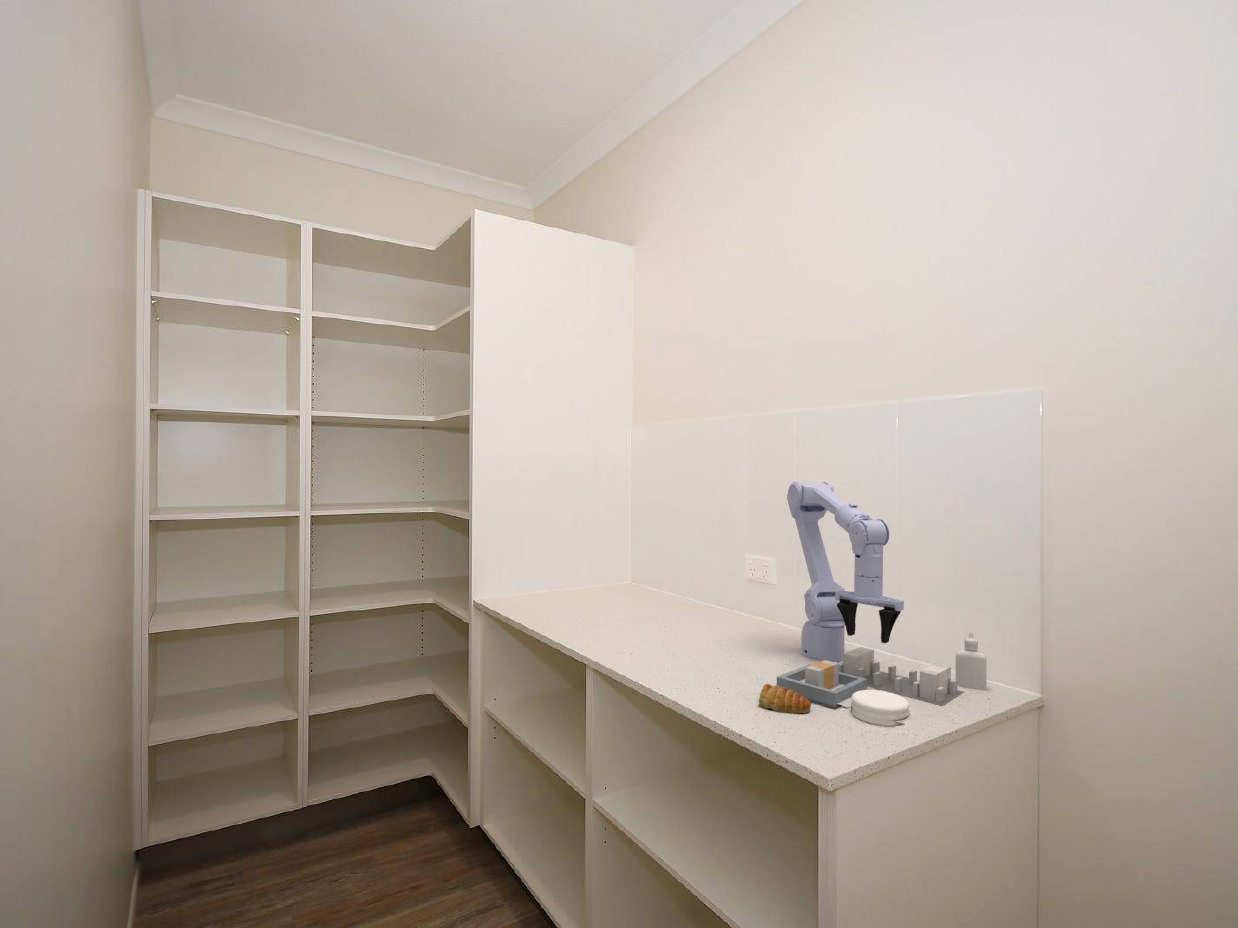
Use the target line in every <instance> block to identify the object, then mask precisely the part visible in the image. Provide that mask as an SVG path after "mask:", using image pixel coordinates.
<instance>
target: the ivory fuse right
mask: <svg viewBox="0 0 1238 928" xmlns="http://www.w3.org/2000/svg"><path fill="white" fill-rule="evenodd" d="M951 680H952V666H949V665H944V664H941V663H940V664H939V663H933V664H931V665H930V666H927V667H925V668H923V669H921V670H919V681H920V696H919V697H923V698H926V699H930V700H934V701H936V689H937V688H939V687H944V695H946V694H947V693H949V692H950V681H951Z"/></svg>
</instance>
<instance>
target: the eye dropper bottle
mask: <svg viewBox="0 0 1238 928" xmlns="http://www.w3.org/2000/svg"><path fill="white" fill-rule="evenodd" d="M978 644H979V641H978V639H977V638H975V635H974V633H973V632H969V633H968V637H966V638H964V649H959V650H957V652H956V653H955V679H956V680H958V682H957V687H962V688H967V689H971V690H972V689H973V690H980V691H986V690H987V673H988V672H987V663H988V662H987V655H985V654H984V653H983V652H980V650H979V651H978V649H979V645H978Z"/></svg>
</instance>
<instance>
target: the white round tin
mask: <svg viewBox="0 0 1238 928" xmlns="http://www.w3.org/2000/svg"><path fill="white" fill-rule="evenodd" d="M850 699H851V704H850V705H851V709H850V711H851V713H852V715H853V717H855V718H856V719H858V720H860V721H862V722H865V723H868V724H872V725H875V726H884V727H899V726H904V725H905V723H903V722H899V721H900V720H904V719H906V718H907V717H909V716H910V706H911V705H910V703H909V702H908V700H907V699H906V698H904V696H901V695H897V694H893V693H890V692H886V691H882V690H878V689H866V690H861V691H857V692H855V693H854V694H853V695H852V697H850Z"/></svg>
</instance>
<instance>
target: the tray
mask: <svg viewBox="0 0 1238 928" xmlns="http://www.w3.org/2000/svg"><path fill="white" fill-rule="evenodd" d="M811 665H812V664H807V665H805V666H802V667H799V668H796V669H794V670H791V671H789V672H786V673H783V674H780V675H778V676H776V685H778V686H780V687H787V688H788V689H789V690H792V691H795V692H796V693H799V694H801V695H802V696H804V697H806V698H807V699H808V700H809V701H810V702H811V703H813V704H816V705H820V706H824V707H826V708H830V709H832V710H837V709H840V708H841V707H843V705H842V704H840V703H841V702H844V701H846V700H848V699H851V697H852V695H853V694H854V693H855V692H857V691H861V690H868V687H867V679H865V678H861V677H858V676H854V675H850V674H846V673H842V672H838V685H842V686H839V687H838V688H835V689H826V688H822V687H819V686H815V685H812V684H808V683H805V668H806V667H808V666H811ZM803 680H804V681H803Z"/></svg>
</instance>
